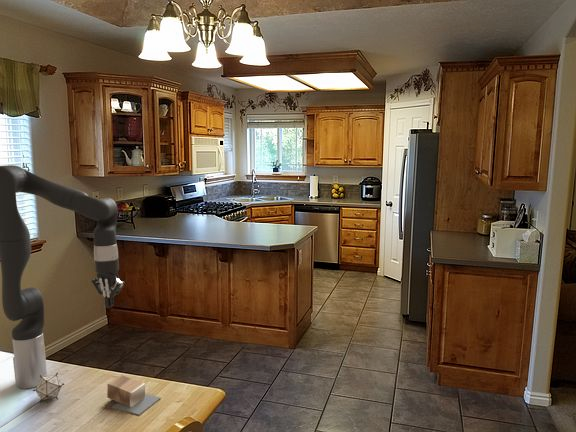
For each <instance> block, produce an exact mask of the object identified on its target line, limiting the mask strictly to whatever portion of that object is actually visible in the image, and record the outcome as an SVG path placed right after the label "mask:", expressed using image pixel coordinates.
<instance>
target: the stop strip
mask: <svg viewBox="0 0 576 432" xmlns="http://www.w3.org/2000/svg"><path fill="white" fill-rule="evenodd" d="M116 403H117V401H114V400H112V399H111V401H110V402H108V403H106V404H105V409H108V410H111V409H112V406H113V405H114V404H116Z"/></svg>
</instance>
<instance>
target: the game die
mask: <svg viewBox="0 0 576 432" xmlns="http://www.w3.org/2000/svg"><path fill="white" fill-rule="evenodd" d="M58 374H59V373H58V372H56V373H55V374H51V375H47V376H45V377H42V376H41V375H40V377H41V379H40V381H39V383H38V385H37V386H36V387H35V389H32V392H36V394H37V396H38V397H39V399H40V400H39V403H42V401H44V400H50V399H56V400H59V397H58V396H59V393H60V391H61V389H62V386H64V385H65V383H64V382H63V383H62V381H61V380H60V378H59V376H58Z"/></svg>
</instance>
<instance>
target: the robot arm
mask: <svg viewBox="0 0 576 432" xmlns="http://www.w3.org/2000/svg"><path fill="white" fill-rule="evenodd" d="M18 193H24V194H30V195H34V196H38V197H40V198H42V199H44V200H46V201H48V202H49V203H51V204H53V205H55V206H58V207H59V208H63V209H66V210H69V211H73V212H77V214H80V215H82V216H83V217H86V218H88V219H90V220H94V221H97V223H96V227H95V228H94V230H93V259H94V270H95V273H96V277H95V278H93V279H91V283H92V284H93V286H94V287H95V289H96V290H97V292H98V294H99V295H102V296H103V297H104V305H105V307H106V308H107V309H110V308H113V307H114V306H115V296H116V295H117V296H118V295H119V294H120V292H121V290H122V289H123V287H124V286H125V281H121V280H120V276H119V274H118V272H119V270H120V263H119V261H120V260H119V259H120V258H119V249H118V245H117V244H118V243H117V233H116V232H117V224H118V214H119V213H118V212H119V211H118V209H119V208H118V205H117V203H116V202H115V200H114V199H112V198H111V197H103V198H94V197H92V196H89V195H88V193H86V192H84V191H82V190H79V189H77V188H73V187H69V186H67V185H62V184H60V183H57V182H54V181H51V180H50V179H49V180H48V179H46V178H44V177H41V176H39V175H37V174H35V173H33V172H31V171H29V170H28V169H25V168H23V167H21V166H19V165H14V164H11V165H10V164H9V165H8V164H5V165H0V268H1V269H0V271H1V303H2V311H3V313H4V315H5V317H6V318H7V320H10V321H12V322H17V321H20V322H19V323H18V324H16V325H15V326H14V327H13V328H12V330H11V340H12V349H13V357H12V361H13V369H14V370H13V372H14V380H15V382H14V383H15V384H16V386H17V387H18V388H20V389H32V388H36V387H37V385H38V383H39V381H40V379H41V377H40V375H41V376H42V377H45V376H48V371H47V361H46V360H47V358H46V350H45V349H46V348H45V337H44V326H45V303H44V302H45V301H44V297H43V295H42V293H41V291H40V290H39V289H38V288H36V287H32V286H31V287H27V288H24V289H22V288H21V287H22V278H23V274H24V271H25V269H26V267H27V265H28V262H29V260H30V257H31V255H32V243H31V235H30V234H31V233H30V231H29V228H28V226H27V224H26V222H25V221H24V219H23V217H22V215H21V214H20V212H19V209H18V202H17V194H18Z"/></svg>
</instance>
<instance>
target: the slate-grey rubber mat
mask: <svg viewBox="0 0 576 432" xmlns="http://www.w3.org/2000/svg"><path fill="white" fill-rule="evenodd" d="M161 399H162V398H161V397H160V396H159V397H158V396H156V395H152V394H148V393H145V398H144V399H143V400H141V401H140V402H138V403H137V404H136V405H134V406H133V407H129V406H126V405H124V404H122V403H119V402H117V403H116V404H114V405H113V406H112V408H113V409H114V410H115V409H116V410H120V411H123V412H126V413H129V414H131V415H132V414H133V415H135V416H141V415H142V414H143V413H145V412H146V411H147V410H148V409H150V408H151V407H152V406H154V404H156V403H157V402H159V401H160V400H161ZM112 408H111V409H112Z"/></svg>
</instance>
